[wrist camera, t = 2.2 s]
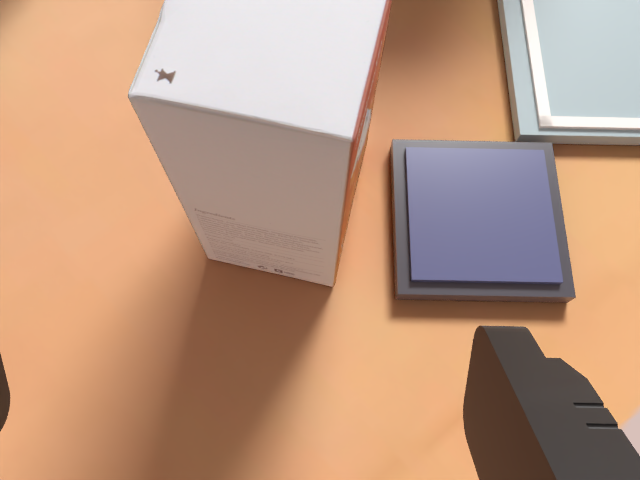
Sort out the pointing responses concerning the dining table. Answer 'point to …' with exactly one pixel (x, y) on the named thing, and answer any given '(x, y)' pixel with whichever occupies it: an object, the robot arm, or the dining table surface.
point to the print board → (573, 70)
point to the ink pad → (478, 222)
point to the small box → (264, 123)
